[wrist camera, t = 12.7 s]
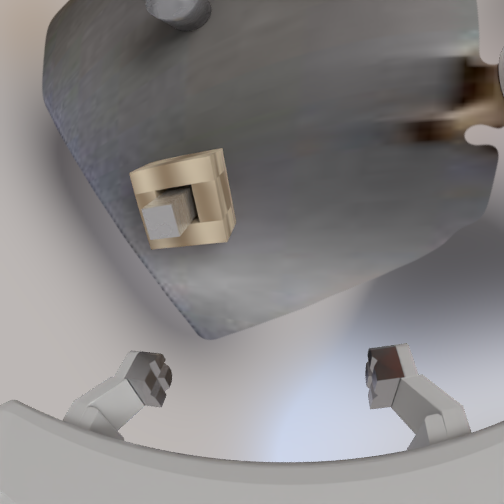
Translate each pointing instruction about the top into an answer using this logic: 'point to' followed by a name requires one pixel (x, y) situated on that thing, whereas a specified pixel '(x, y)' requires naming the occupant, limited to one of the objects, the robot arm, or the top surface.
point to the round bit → (181, 12)
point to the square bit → (170, 212)
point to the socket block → (204, 190)
